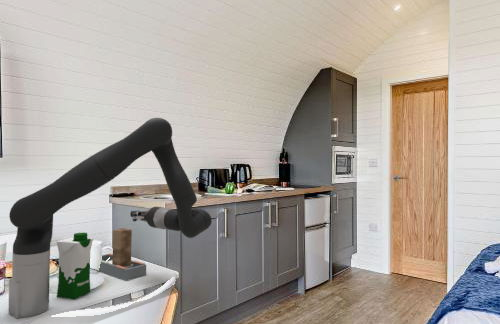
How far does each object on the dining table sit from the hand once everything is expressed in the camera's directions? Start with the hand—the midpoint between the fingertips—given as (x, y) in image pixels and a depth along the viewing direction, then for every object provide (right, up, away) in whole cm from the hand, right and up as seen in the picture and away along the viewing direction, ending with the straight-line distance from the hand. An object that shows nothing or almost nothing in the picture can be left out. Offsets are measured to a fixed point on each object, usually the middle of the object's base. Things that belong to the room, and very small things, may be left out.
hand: (133, 213), depth 134 cm
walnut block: (-6, -21, +4) cm, 22 cm away
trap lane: (-9, -24, +6) cm, 26 cm away
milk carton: (-13, -24, -20) cm, 33 cm away
